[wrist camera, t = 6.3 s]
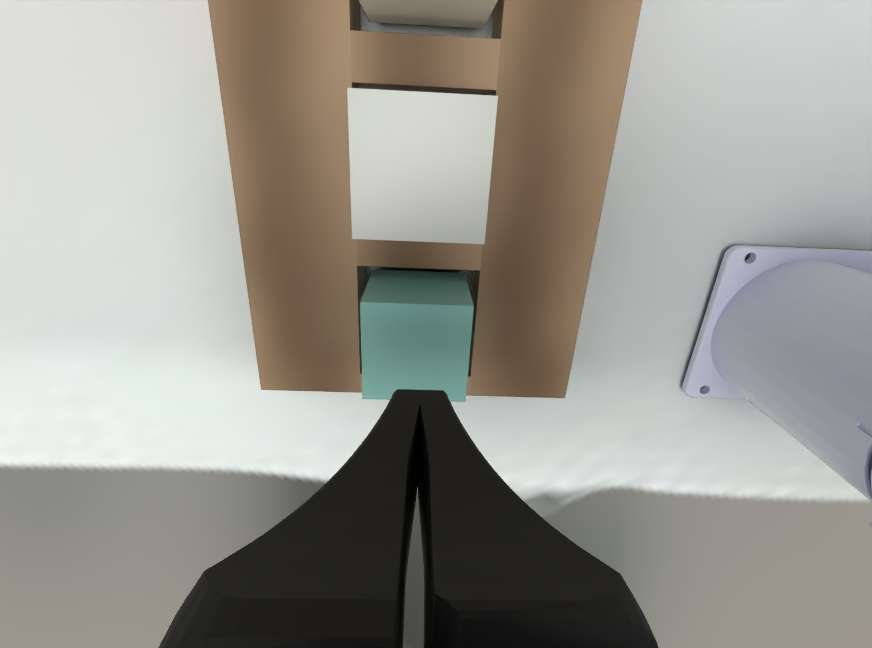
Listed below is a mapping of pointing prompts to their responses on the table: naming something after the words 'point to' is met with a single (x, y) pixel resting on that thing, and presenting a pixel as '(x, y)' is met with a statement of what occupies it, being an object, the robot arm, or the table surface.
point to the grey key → (420, 165)
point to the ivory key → (430, 12)
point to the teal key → (415, 333)
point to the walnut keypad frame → (346, 258)
